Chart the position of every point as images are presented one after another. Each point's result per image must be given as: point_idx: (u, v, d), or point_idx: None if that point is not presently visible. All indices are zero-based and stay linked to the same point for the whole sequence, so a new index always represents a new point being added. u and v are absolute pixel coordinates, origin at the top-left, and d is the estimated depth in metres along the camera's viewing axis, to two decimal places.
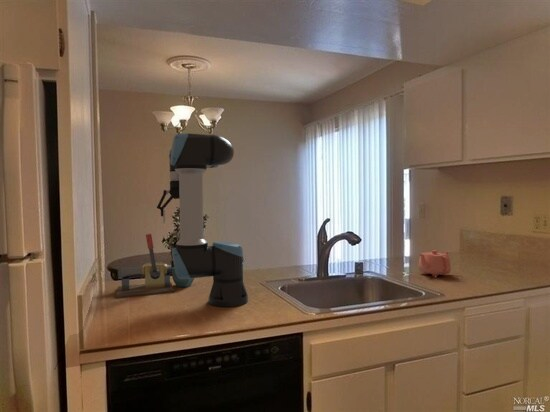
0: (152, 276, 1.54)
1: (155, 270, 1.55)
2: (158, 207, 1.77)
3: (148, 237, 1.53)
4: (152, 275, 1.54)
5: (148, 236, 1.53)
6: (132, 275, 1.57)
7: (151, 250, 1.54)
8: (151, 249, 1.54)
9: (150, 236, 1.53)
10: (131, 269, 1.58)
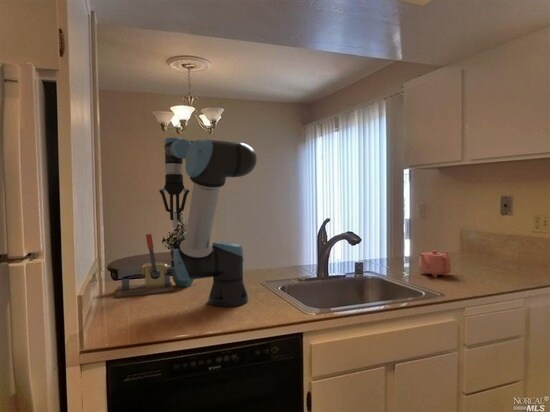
0: (152, 276, 1.54)
1: (155, 270, 1.55)
2: (167, 210, 1.56)
3: (148, 237, 1.53)
4: (152, 275, 1.54)
5: (148, 236, 1.53)
6: (132, 275, 1.57)
7: (151, 250, 1.54)
8: (151, 249, 1.54)
9: (150, 236, 1.53)
10: (131, 269, 1.58)
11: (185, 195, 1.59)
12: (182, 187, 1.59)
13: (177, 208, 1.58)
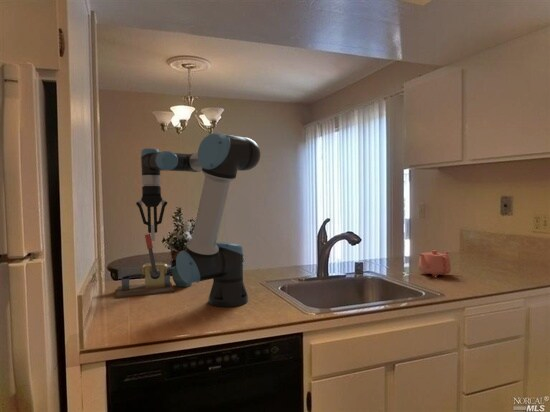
0: (152, 276, 1.54)
1: (155, 270, 1.55)
2: (145, 222, 1.52)
3: (147, 237, 1.53)
4: (152, 275, 1.54)
5: (147, 236, 1.53)
6: (132, 275, 1.57)
7: (150, 250, 1.54)
8: (150, 249, 1.54)
9: (149, 236, 1.53)
10: (131, 269, 1.58)
11: (163, 207, 1.55)
12: (160, 199, 1.54)
13: (155, 220, 1.54)
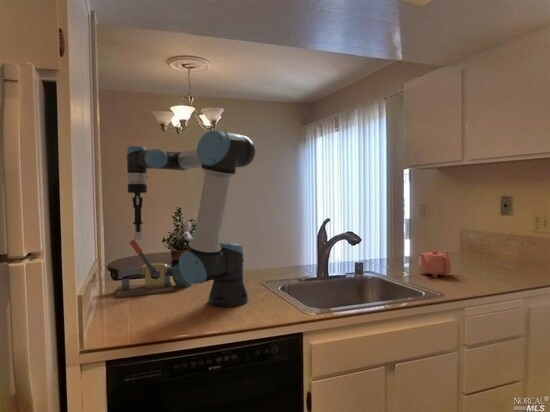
0: (153, 277, 1.55)
1: (153, 270, 1.54)
2: (134, 220, 1.55)
3: (132, 243, 1.51)
4: (153, 276, 1.54)
5: (132, 242, 1.51)
6: (132, 275, 1.57)
7: (141, 254, 1.52)
8: (141, 253, 1.52)
9: (134, 242, 1.51)
10: (131, 269, 1.58)
11: (134, 206, 1.48)
12: (134, 197, 1.49)
13: None
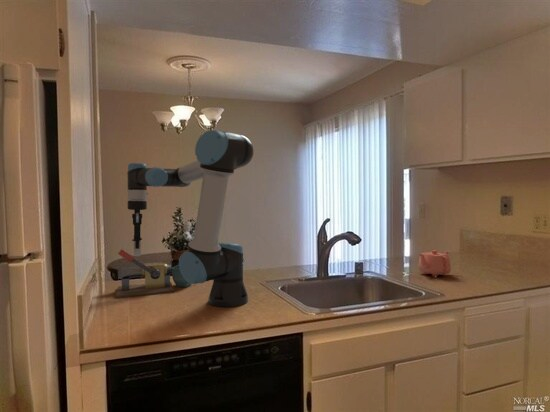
0: (154, 277, 1.55)
1: (152, 271, 1.54)
2: None
3: (121, 253, 1.50)
4: (154, 276, 1.55)
5: (121, 253, 1.49)
6: (132, 275, 1.57)
7: (134, 260, 1.52)
8: (133, 260, 1.51)
9: (122, 251, 1.50)
10: (131, 269, 1.58)
11: (134, 223, 1.48)
12: None
13: None
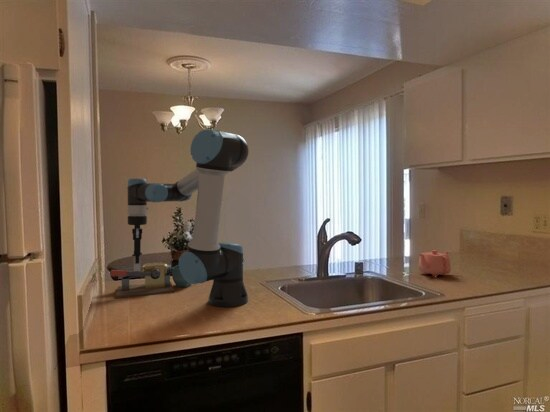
0: (156, 277, 1.55)
1: (151, 273, 1.54)
2: None
3: (113, 274, 1.49)
4: (155, 277, 1.55)
5: (112, 273, 1.49)
6: None
7: (129, 273, 1.51)
8: (127, 273, 1.51)
9: (113, 271, 1.49)
10: (131, 269, 1.58)
11: (134, 239, 1.48)
12: (134, 230, 1.49)
13: None
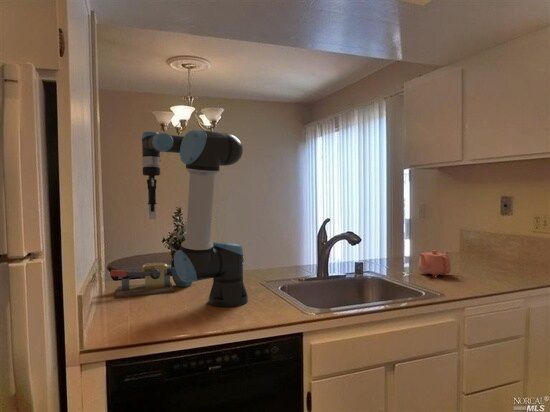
0: (156, 277, 1.55)
1: (151, 273, 1.54)
2: (148, 201, 1.66)
3: (113, 274, 1.49)
4: (155, 277, 1.55)
5: (112, 273, 1.49)
6: None
7: (129, 273, 1.51)
8: (127, 273, 1.51)
9: (113, 272, 1.49)
10: (131, 269, 1.58)
11: (149, 187, 1.59)
12: (149, 179, 1.60)
13: None
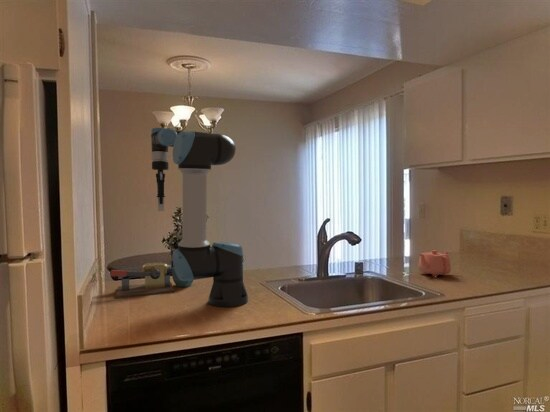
0: (156, 277, 1.55)
1: (151, 273, 1.54)
2: (157, 194, 1.74)
3: (113, 274, 1.49)
4: (155, 277, 1.55)
5: (112, 273, 1.49)
6: None
7: (129, 273, 1.51)
8: (127, 273, 1.51)
9: (113, 272, 1.49)
10: (131, 269, 1.58)
11: (158, 181, 1.67)
12: (158, 173, 1.68)
13: None
